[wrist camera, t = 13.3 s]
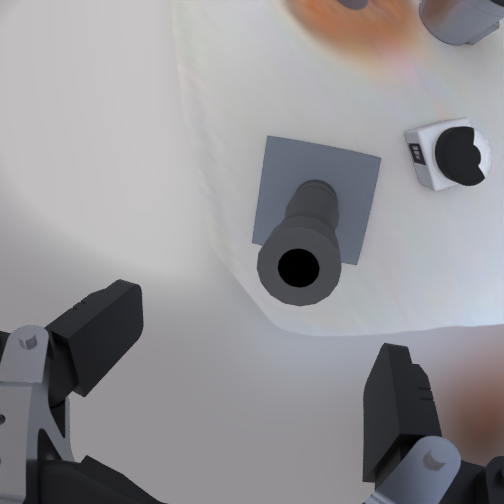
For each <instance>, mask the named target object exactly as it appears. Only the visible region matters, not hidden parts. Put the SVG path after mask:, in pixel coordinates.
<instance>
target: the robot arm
mask: <svg viewBox="0 0 504 504" xmlns="http://www.w3.org/2000/svg"><path fill="white" fill-rule="evenodd" d="M419 12H420V16H421V19H422V21H423V23H424V25H425V26H426V28H427V29H428V30H429V31H430V32H431V33H432V34H433V35H434V36H435V37H437V38H438V39H440V40H442V41H443V42H446V43H449V44H453V45H461V44H464V43H469V44H472V45H473V44H474V43H476V42H477V41H479V40H481V39H482V38H484V37H485V36H487V35H489V34H490V33H492V32H493V31H495V30H497V29H498V28H499V20H501V19H502V18H504V0H422V1H421V3H420V7H419ZM142 330H143V307H142V291H141V287H140V286H139V285H138V284H134V283H131V282H127V281H124V280H121V279H119V280H117V281H115V282H114V283H112V284H111V285H110V286H108V287H107V288H106V289H102V290H99V291H97V292H94V293H91V294H90V295H88V296H87V297H85V298H84V299H83V300H81V302H78V303H77V304H76V305H74V306H73V308H70V309H69V310H68V311H66V312H65V313H64V314H62V315H61V316H59V317H58V318H57V319H56V320H54V321H53V322H52V323H50V324H49V325H47V326H46V327H45V328H43V327H41V326H36V325H27V326H23V327H20V328H18V329H16V330H15V331H14V332H12V333H7V332H2V331H0V504H165V503H162V502H160V501H158V500H156V499H155V498H153V497H152V496H150V495H149V494H148V493H146V492H145V491H144V490H142V489H141V488H140V487H138V486H137V485H136V484H134V483H133V482H132V481H131V480H129V479H128V478H127V477H125V476H124V475H123V474H121V473H119V472H117V471H115V470H113V469H111V468H110V467H108V466H106V465H104V464H102V463H100V462H98V461H97V460H95V459H93V458H91V457H89V456H88V455H86V456H85V458H84V459H83V460H82V462H81V463H78V462H75V461H74V457H73V454H72V451H71V445H70V418H69V417H70V415H69V414H70V413H69V412H70V408H69V405H70V402H69V398H68V395H69V394H70V393H71V392H72V391H74V392H75V393H77V394H79V395H81V396H83V397H86V395H87V394H88V393H89V392H90V391H91V390H92V389H93V388H94V387H95V386H96V385H97V383H98V382H99V381H100V380H101V379H102V378H103V377H104V376H105V375H106V374H107V373H108V371H109V370H110V369H111V368H112V367H113V366H114V365H115V364H116V363H117V362H118V361H119V360H120V358H121V357H122V356H123V355H124V354H125V353H126V352H127V351H128V350H129V349H130V348H131V347H132V346H133V344H134V343H135V342H136V341H137V340H138V339H139V337H140V336H141V333H142ZM430 389H431V387H430V383H429V379H428V376H427V375H426V373H425V372H424V371H423V369H422V368H421V367H420V365H419V364H412V361H411V358H410V353H409V350H408V347H406V346H401V345H394V344H388V343H384V344H383V346H382V347H381V349H380V352H379V354H378V356H377V359H376V361H375V363H374V366H373V368H372V370H371V372H370V375H369V377H368V379H367V382H366V385H365V389H364V395H363V396H364V397H363V403H364V404H363V407H364V451H363V454H364V455H363V482H372V483H374V482H375V491H374V492H373V493H372V494H371V495H370V496H369V497H368V499H367V500H366V501H365V502H364V503H363V504H504V456H498V457H495V458H493V459H492V460H491V461H490V462H489V463H488V464H487V465H486V466H485V467H483V466H479V465H476V464H472V463H469V462H465V461H463V460H461V459H460V454H459V452H458V450H457V449H456V447H455V446H454V445H453V444H452V443H451V442H450V441H448V440H446V439H444V438H442V434H441V429H440V424H439V420H438V415H437V411H436V407H435V403H434V401H433V395H432V391H430Z"/></svg>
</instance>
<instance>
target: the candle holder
mask: <svg viewBox="0 0 504 504" xmlns="http://www.w3.org/2000/svg"><path fill="white" fill-rule="evenodd" d="M338 221H339V212H338V200H337V196H336V192H335V191H334V189H333V188H332V187H331V185H329V184H328V183H326V182H325V181H322V180H316V179H313V180H309V181H306V182H304V183H303V184H302V185H300V186H299V187H298V189H297V190H296V192H295V194H294V195H293V197H292V198H291V200H290V201H289V203H288V205H287V206H286V212H285V218H284V219H283V221H282V222H281V223H280V224H279V225H277V226H276V227H275V228H274V229H273V231H272V232H271V234H270V235H269V237H268V239H267V240H266V242H265V243H264V245H263V247H262V248H261V250H260V252H259V254H258V262H257V271H258V274H259V277H260V281H261V283H262V285H263V286H264V287H265V289H266V290H267V291H268V292H269V294H270V295H271V296H273V297H275V298H276V299H278V300H280V301H281V302H283V303H285V304H290V305H296V306H305V305H311V304H316V303H318V302H319V301H321V300H323V299H324V298H326V297H328V296H329V295H330V294H331V292H332V291H333V290H334V288H335V287H336V286H337V284H338V281H339V277H340V273H341V254H340V248H339V243H338V239H337V237H336V234H335V229H336V228H337V226H338Z"/></svg>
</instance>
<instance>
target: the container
mask: <svg viewBox="0 0 504 504" xmlns="http://www.w3.org/2000/svg"><path fill="white" fill-rule="evenodd" d="M405 137H406V140H407V143H408V146H409V149H410V152H411V156H412V159H413V162H414V165H415V169H416V172H417V176H418V179H419V182H420V183H421V184H423V185H425V186H427V187H429V188H431V189H432V190H434V191H440V190H443V189H446V188H449V187H453V186H456V185H459V184H462V185H465V186H473V185H476V184H478V183H480V182H482V181H483V180H484V179H485V178H486V176H487V175H488V173H489V170H490V167H491V162H492V155H491V150H490V146H489V144H488V142H487V140H486V138H485V137H484V136H483V135H482V134H481V133H480V132H479V131H478V130H476V129H474V128H472V126H471V123H470V120H469V118H459V119H452V120H446V121H442V122H439V123H435V124H431V125H427V126H424V127H420V128H417V129H413V130H409V131H406V132H405Z"/></svg>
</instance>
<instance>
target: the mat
mask: <svg viewBox="0 0 504 504" xmlns="http://www.w3.org/2000/svg"><path fill="white" fill-rule="evenodd" d="M380 161H381V158H379V157H375V156H371V155H367V154H363V153H358V152H354V151H349V150H344V149H340V148H335V147H330V146H325V145H320V144H314V143H309V142H303V141H297V140H291V139H285V138H279V137H272V136H267V141H266V148H265V155H264V162H263V169H262V176H261V183H260V190H259V197H258V204H257V211H256V218H255V225H254V232H253V239H252V243H254V244H259V245H264V243H265V242H266V240H267V239H268V237H269V235H270V234H271V232H272V231H273V229H274V228H275V227H276V226H277V225H279V224H280V223H281V222H282V221H283V219H284V218H285V212H286V206H287V205H288V203H289V201H290V200H291V198H292V197H293V195H294V194H295V192H296V190H297V189H298V187H299V186H300V185H302V184H303V183H304V182H306V181H309V180H313V179H316V180H322V181H325V182H326V183H328V184H329V185H331V187H332V188H333V189H334V191H335V192H336V196H337V200H338V212H339V221H338V226H337V228H336V229H335V234H336V237H337V239H338V243H339V248H340V254H341V262H343V263H348V264H352V265H357V262H358V259H359V255H360V251H361V247H362V243H363V239H364V235H365V231H366V227H367V223H368V218H369V214H370V210H371V205H372V201H373V196H374V191H375V186H376V181H377V176H378V171H379V166H380Z"/></svg>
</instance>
